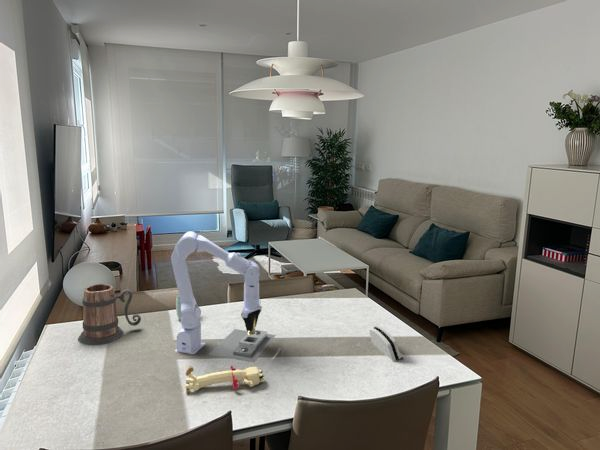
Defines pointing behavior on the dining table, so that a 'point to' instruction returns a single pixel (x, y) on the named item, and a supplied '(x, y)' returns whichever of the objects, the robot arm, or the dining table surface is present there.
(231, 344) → the mat
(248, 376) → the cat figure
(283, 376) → the dining table surface
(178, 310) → the cup
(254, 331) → the pin
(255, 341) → the latch strike plate
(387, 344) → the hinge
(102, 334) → the tankard
